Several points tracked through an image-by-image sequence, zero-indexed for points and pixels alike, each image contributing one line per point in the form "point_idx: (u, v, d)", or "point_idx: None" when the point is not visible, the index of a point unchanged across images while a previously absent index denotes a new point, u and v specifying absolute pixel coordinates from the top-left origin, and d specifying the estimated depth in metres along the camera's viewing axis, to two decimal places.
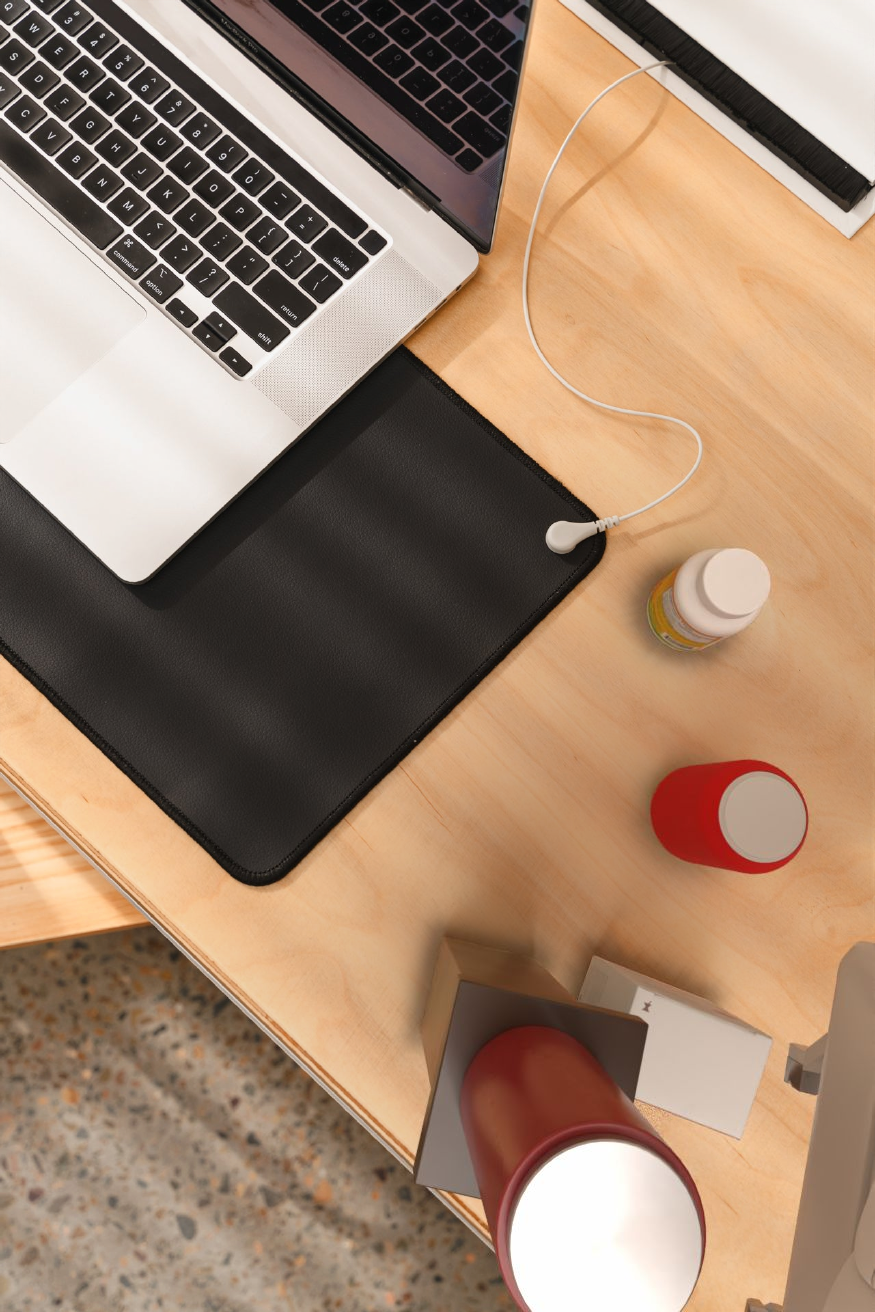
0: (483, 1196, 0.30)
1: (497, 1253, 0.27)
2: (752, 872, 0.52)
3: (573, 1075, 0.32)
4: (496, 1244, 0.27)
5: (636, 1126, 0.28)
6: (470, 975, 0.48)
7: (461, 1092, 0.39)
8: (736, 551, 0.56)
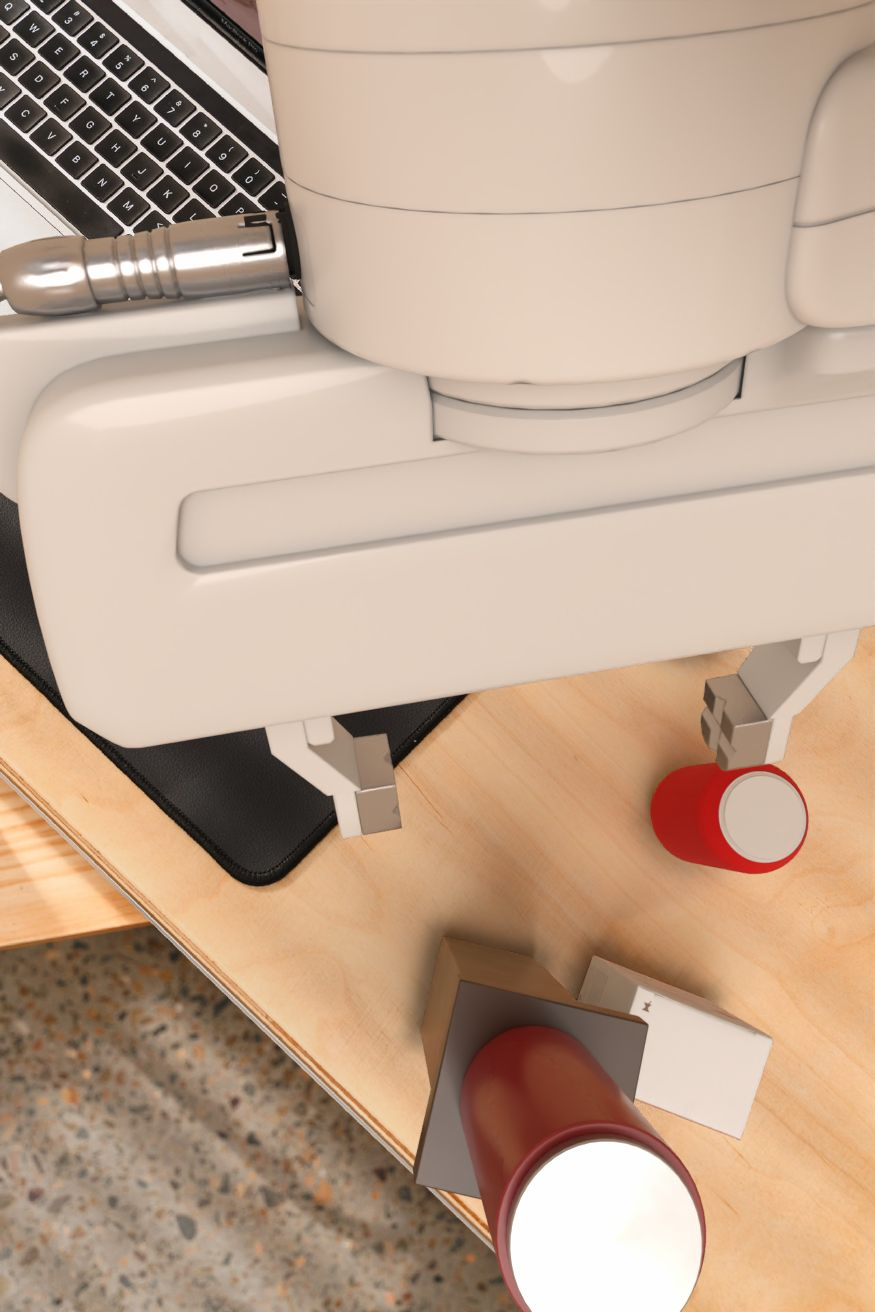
0: (483, 1196, 0.30)
1: (497, 1253, 0.27)
2: (752, 872, 0.52)
3: (573, 1075, 0.32)
4: (496, 1244, 0.27)
5: (636, 1126, 0.28)
6: (470, 975, 0.48)
7: (461, 1092, 0.39)
8: None
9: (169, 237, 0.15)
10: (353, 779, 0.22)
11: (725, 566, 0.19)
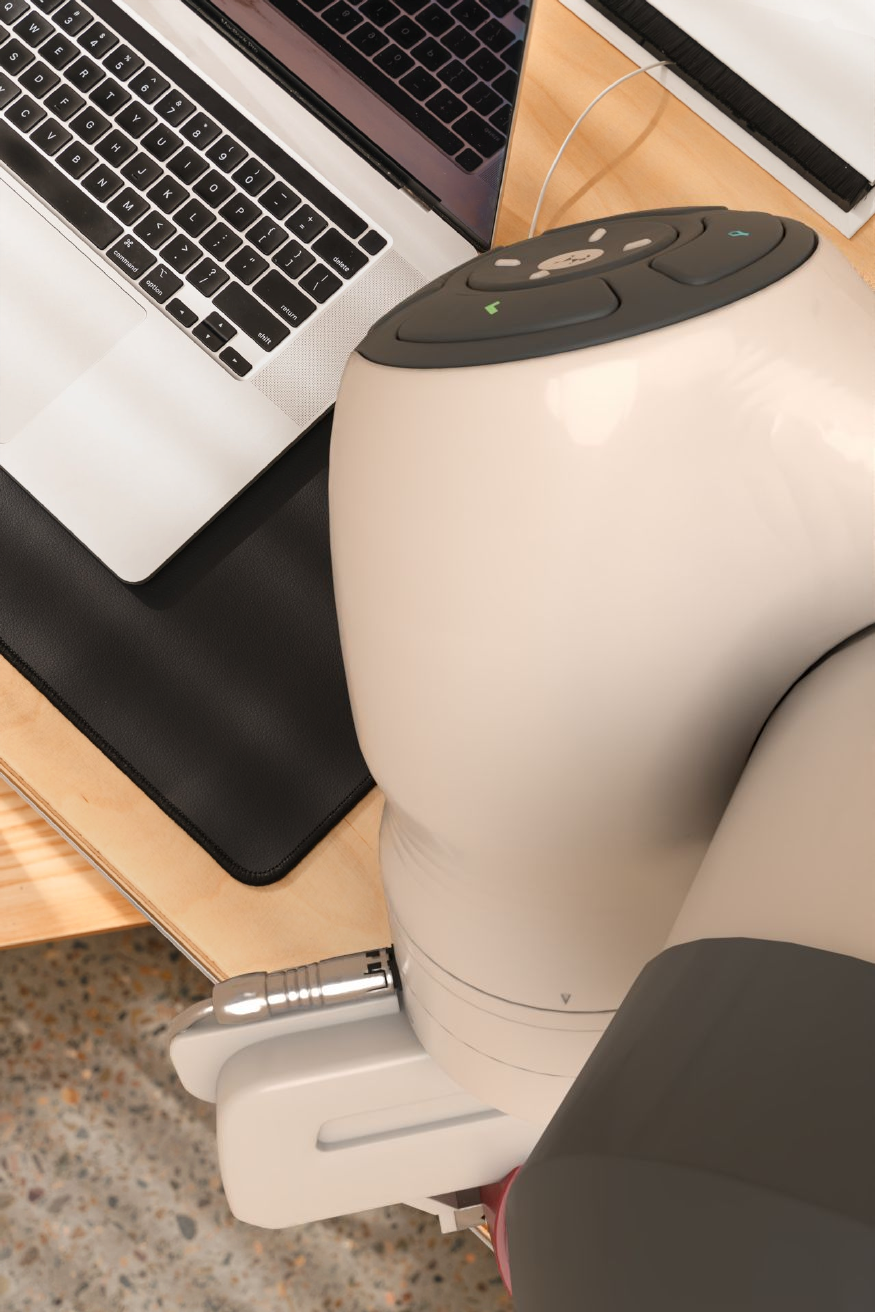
0: (482, 1196, 0.30)
1: (496, 1253, 0.27)
2: None
3: None
4: (495, 1244, 0.27)
5: None
6: None
7: None
8: None
9: (320, 982, 0.24)
10: (453, 1203, 0.30)
11: None
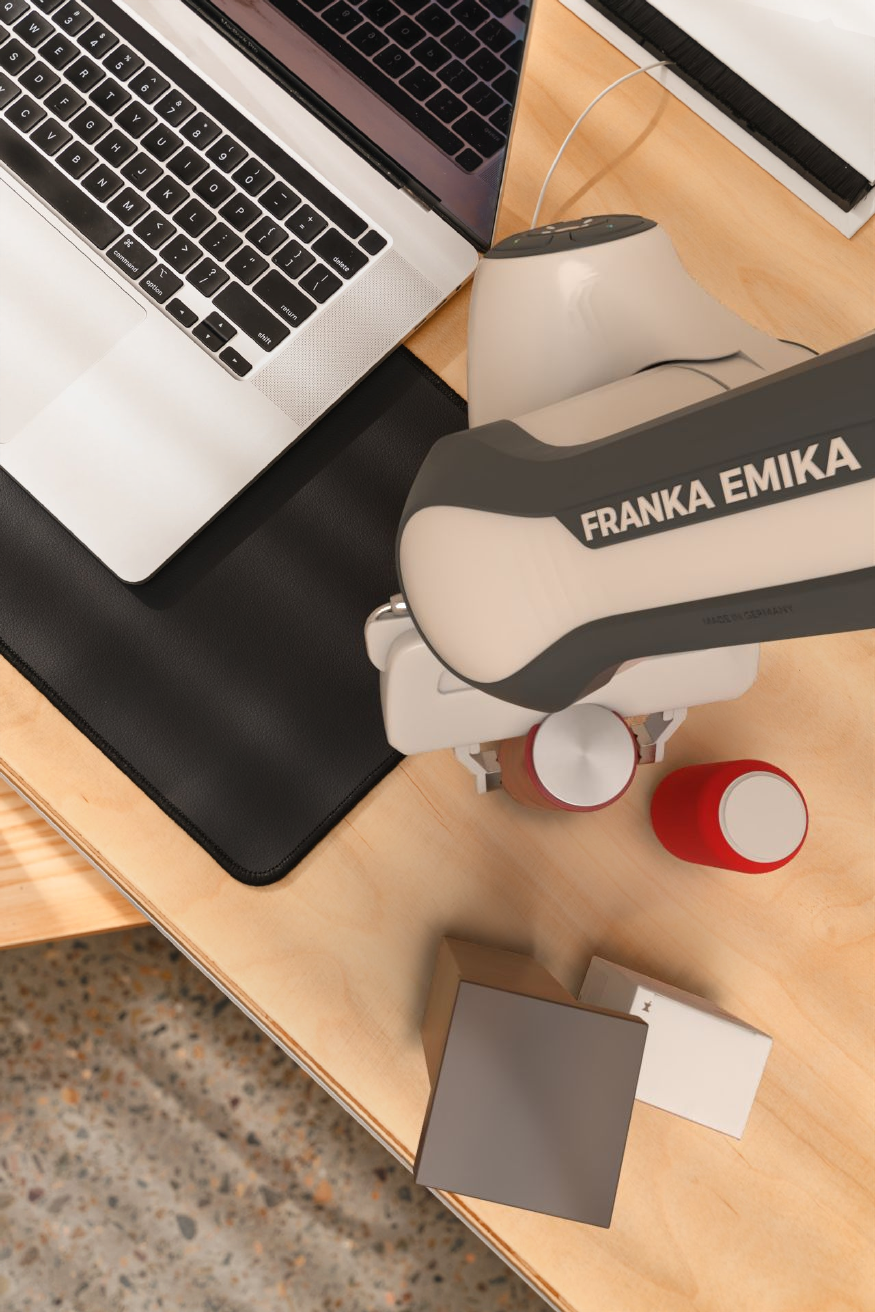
0: (517, 758, 0.54)
1: (526, 762, 0.51)
2: (752, 872, 0.52)
3: None
4: (525, 758, 0.51)
5: None
6: (470, 975, 0.48)
7: (498, 754, 0.63)
8: None
9: None
10: (484, 768, 0.54)
11: (628, 687, 0.51)
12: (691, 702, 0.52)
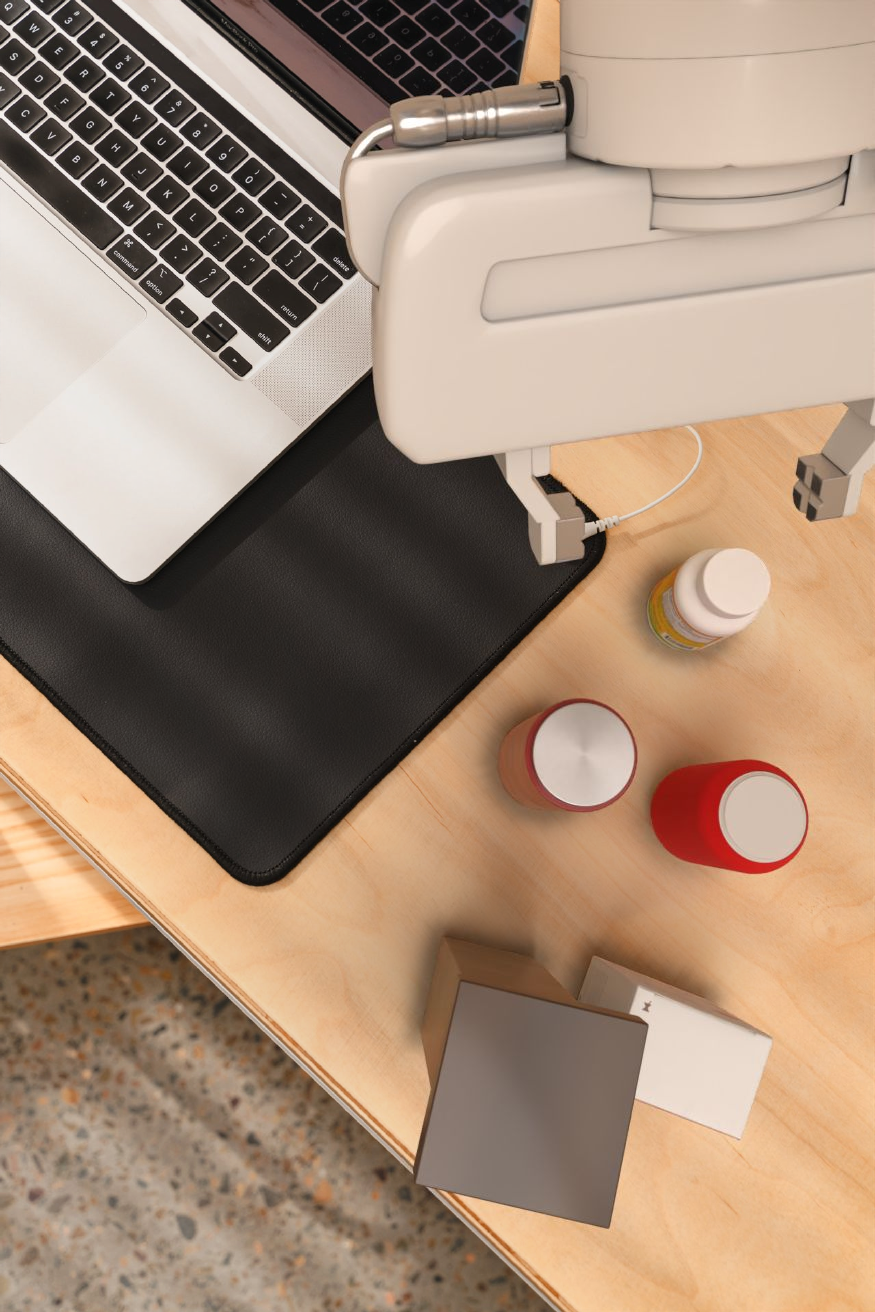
0: (517, 758, 0.54)
1: (526, 762, 0.51)
2: (752, 872, 0.52)
3: None
4: (525, 758, 0.51)
5: (600, 702, 0.52)
6: (470, 975, 0.48)
7: (498, 754, 0.63)
8: (736, 551, 0.56)
9: (495, 95, 0.24)
10: (555, 511, 0.31)
11: (827, 333, 0.28)
12: None
